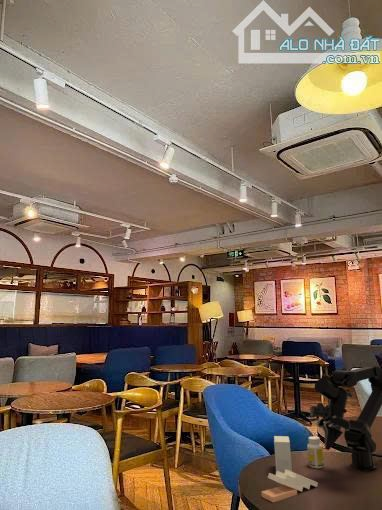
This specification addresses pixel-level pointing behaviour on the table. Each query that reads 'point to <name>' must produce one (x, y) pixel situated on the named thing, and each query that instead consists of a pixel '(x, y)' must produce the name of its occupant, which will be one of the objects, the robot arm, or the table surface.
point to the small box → (282, 453)
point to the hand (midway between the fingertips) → (326, 449)
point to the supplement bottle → (315, 453)
